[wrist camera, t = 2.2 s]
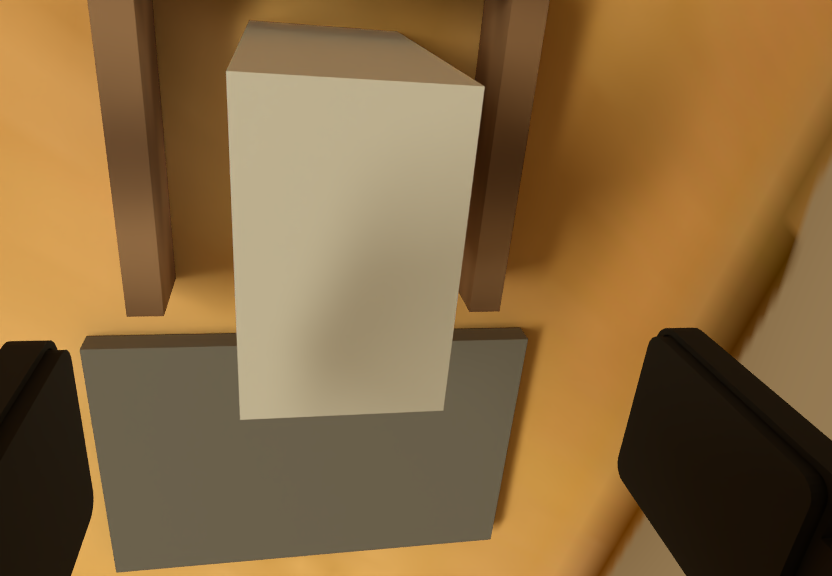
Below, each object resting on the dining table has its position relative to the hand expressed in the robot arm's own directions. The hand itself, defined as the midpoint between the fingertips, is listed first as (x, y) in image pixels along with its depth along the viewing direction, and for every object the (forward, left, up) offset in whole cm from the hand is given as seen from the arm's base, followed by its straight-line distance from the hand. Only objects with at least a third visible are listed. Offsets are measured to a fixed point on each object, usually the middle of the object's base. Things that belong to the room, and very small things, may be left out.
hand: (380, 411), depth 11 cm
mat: (+13, 0, -15) cm, 21 cm away
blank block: (-1, 0, -16) cm, 16 cm away
